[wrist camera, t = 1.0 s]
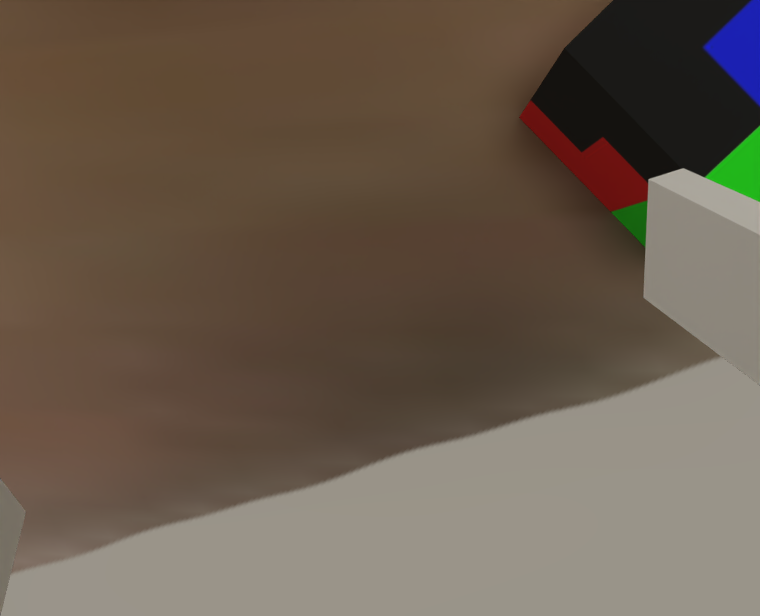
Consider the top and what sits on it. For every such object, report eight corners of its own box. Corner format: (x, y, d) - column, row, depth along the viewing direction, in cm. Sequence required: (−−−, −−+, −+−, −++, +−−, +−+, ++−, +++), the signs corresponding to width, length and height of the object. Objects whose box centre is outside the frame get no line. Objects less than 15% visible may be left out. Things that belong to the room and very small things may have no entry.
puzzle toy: (666, -27, 31) (783, -167, 21) (807, 117, 31) (989, 45, 21) (518, 117, 32) (564, 48, 22) (655, 258, 32) (763, 252, 22)
